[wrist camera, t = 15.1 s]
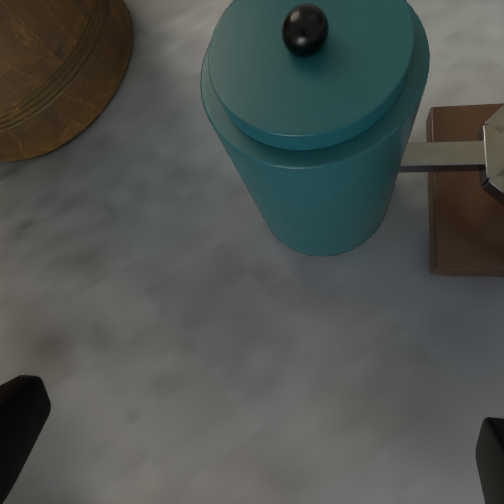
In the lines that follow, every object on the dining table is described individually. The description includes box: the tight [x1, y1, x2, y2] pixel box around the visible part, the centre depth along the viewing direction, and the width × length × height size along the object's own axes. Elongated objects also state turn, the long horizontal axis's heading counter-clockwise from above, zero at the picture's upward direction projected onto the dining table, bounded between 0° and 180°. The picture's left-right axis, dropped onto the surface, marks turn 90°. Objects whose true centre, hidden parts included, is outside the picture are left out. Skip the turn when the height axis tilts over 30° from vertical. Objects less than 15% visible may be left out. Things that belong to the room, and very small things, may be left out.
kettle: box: [201, 0, 504, 256], centre depth 15 cm, size 9×15×12 cm, turn 86°
